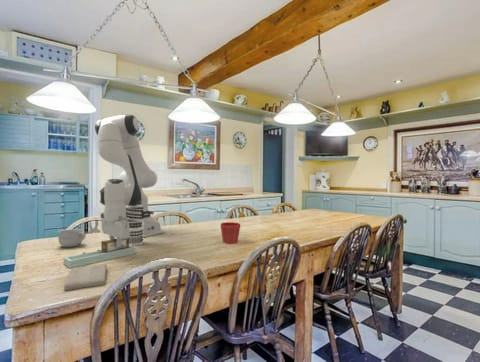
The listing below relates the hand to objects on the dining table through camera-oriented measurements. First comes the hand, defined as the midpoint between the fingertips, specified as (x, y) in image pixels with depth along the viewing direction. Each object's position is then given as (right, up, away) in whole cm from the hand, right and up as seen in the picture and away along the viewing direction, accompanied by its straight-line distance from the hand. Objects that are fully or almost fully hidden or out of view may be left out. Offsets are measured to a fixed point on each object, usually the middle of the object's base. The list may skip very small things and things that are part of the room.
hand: (115, 245), depth 124 cm
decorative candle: (+1, -4, +20) cm, 20 cm away
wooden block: (0, -2, 0) cm, 2 cm away
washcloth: (+3, -6, -28) cm, 28 cm away
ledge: (-4, -4, -5) cm, 7 cm away
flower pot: (+51, -4, +24) cm, 56 cm away
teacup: (-28, -4, +14) cm, 32 cm away
